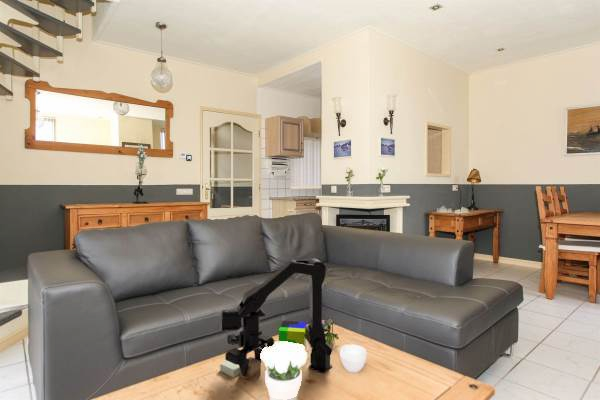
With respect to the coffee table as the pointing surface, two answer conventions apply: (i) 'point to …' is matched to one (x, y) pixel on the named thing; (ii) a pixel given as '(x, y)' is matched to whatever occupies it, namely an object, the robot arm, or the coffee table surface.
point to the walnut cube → (252, 369)
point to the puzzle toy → (293, 332)
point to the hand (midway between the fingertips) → (250, 372)
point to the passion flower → (329, 335)
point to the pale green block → (230, 368)
